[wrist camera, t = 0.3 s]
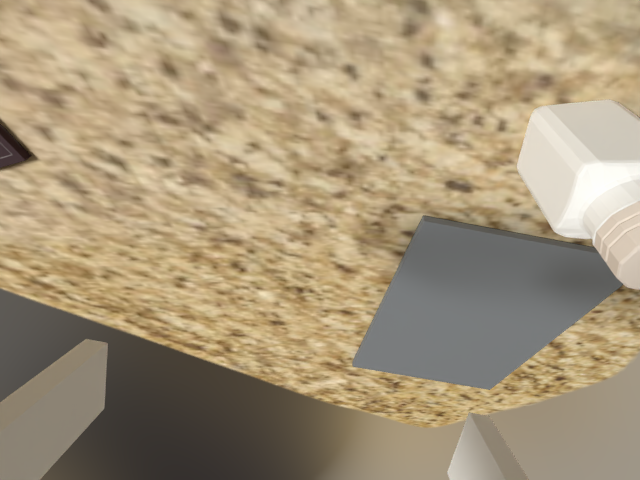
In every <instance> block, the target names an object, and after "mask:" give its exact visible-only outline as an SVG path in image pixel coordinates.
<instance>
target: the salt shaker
mask: <svg viewBox="0 0 640 480" xmlns="http://www.w3.org/2000/svg"><path fill="white" fill-rule="evenodd" d="M517 169H518V173H519V174H520V176H521V178H522V179H523V181H524V183H525V184H526V186H527V188H528V189H529V191H530V193H531V194H532V196H533V198H534V199H535V201H536V203H537V204H538V206H539V208H540V209H541V211H542V213H543V214H544V216H545V218H546V219H547V221H548V223H549V224H550V226H551V228H552V229H553V231H554V232H555V233H557V234H559V235H562V236H564V237H569V238H580V239H592V242H593V245H594V247H595V248H596V250H597V251H598V252H599V254H600V255H601V257H602V258H603V260H604V261H605V262H606V263H607V265H608V267H609V268H610V270H611V271H612V272H613V274H614V275H615V277H616V278H617V279H618V280H619V281H620V282H622V283H623V284H624V285H625V286H626V287H627V288H631V289H638V290H640V118H639V117H638V116H636V115H635V114H634V113H632V112H631V111H630V110H628V109H627V108H625V107H624V106H623V105H621V104H620V103H619V102H616V101H613V100H610V99H609V100H596V101H586V102H576V103H566V104H556V105H546V106H541V107H538V108H535V109H534V111H533V112H532V114H531V116H530V119H529V123H528V127H527V130H526V134H525V137H524V141H523V144H522V148H521V152H520V155H519V159H518V163H517Z"/></svg>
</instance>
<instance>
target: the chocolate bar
mask: <svg viewBox="0 0 640 480" xmlns="http://www.w3.org/2000/svg"><path fill="white" fill-rule="evenodd" d="M30 157H31V155H30V154H29V153H28V152H27V151H26V150H25V149H24V148H23V147H22V146H21V145H20V144H19V143H18V142H17V141H16V140H15V138H14V137H13V136H12V135H11V134H10V133H9V132H8V131H7V130H6V129H5V128H4V127H3V126H2V125H1V124H0V168H1V167H4V166H8V165H11V164H14V163H18V162H21V161H25V160H27V159H28V158H30Z"/></svg>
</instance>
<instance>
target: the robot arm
mask: <svg viewBox="0 0 640 480" xmlns="http://www.w3.org/2000/svg"><path fill="white" fill-rule="evenodd" d="M107 346H108V343H104V342H99V341H93V340H88V339H85V340H84V341H83V342H81V343H80V344H79V345H77V346H76V347H75V348H73V349H72V350H71V351H69V352H68V353H67V354H65V355H64V356H62V357H61V358H60V359H58V360H57V361H56V362H54V363H53V364H52V365H50V366H49V367H48V368H46V369H45V370H43V371H42V372H41V373H39V374H38V375H37V376H35V377H34V378H33V379H31V380H30V381H29V382H27V383H26V384H25V385H23V386H22V387H20V388H19V389H18V390H16V391H15V392H14V393H12V394H11V395H10V396H8V397H7V398H6V399H4V400H3V401H1V402H0V480H40V479H41V478H42V476H43V475H44V474H45V473H46V472H47V471H48V470H49V469H50V468H51V467H52V465H53V464H54V463H55V462H56V461H57V460H58V459H59V458H60V457H61V456H62V454H63V453H64V452H65V451H66V450H67V449H68V448H69V447H70V446H71V444H72V443H73V442H74V441H75V440H76V439H77V438H78V437H79V436H80V434H81V433H82V432H83V431H84V430H85V429H86V428H87V427H88V426H89V424H90V423H91V422H92V421H93V420H94V419H95V418H96V417H97V416H98V415H99V414H100V412H101V411H102V410H103V409H104V404H105V385H106V365H107ZM447 473H448V476H449V479H450V480H529V479H528V477H527V476H526V474H525V473H524V471H523V469H522V468H521V466H520V465H519V463H518V462H517V460H516V458H515V456H514V455H513V453H512V452H511V450H510V448H509V447H508V445H507V444H506V442H505V440H504V439H503V437H502V436H501V434H500V432H499V431H498V429H497V427H496V426H495V424H494V423H493V421H492V419H491V418H490V417H489V416H485V415H480V414H475V413H470V412H469V414H468V416H467V419H466V422H465V425H464V428H463V431H462V433H461V436H460V439H459V442H458V444H457V447H456V450H455V453H454V455H453V458H452V461H451V464H450V467H449V470H448V472H447Z"/></svg>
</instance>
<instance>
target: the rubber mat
mask: <svg viewBox="0 0 640 480" xmlns="http://www.w3.org/2000/svg"><path fill="white" fill-rule="evenodd" d="M622 285H623V283H622V282H620V281H619V280H618V279H617V278H616V277H615V275H614V274H613V272H612V271H611V270H610V268H609V267H608V265H607V263H606V262H605V261H604V260H603V258H602V257H601V255H600V254H599V252H598V251H597V250H596V248H595V247H589V246H584V245H579V244H573V243H568V242H563V241H557V240H552V239H546V238H541V237H536V236H530V235H525V234H520V233H514V232H509V231H504V230H498V229H493V228H487V227H482V226H477V225H471V224H466V223H461V222H455V221H450V220H445V219H439V218H434V217H429V216H423V217H422V219H421V221H420V223H419V225H418V228H417V230H416V232H415V234H414V236H413V238H412V240H411V242H410V244H409V246H408V248H407V250H406V252H405V254H404V256H403V259H402V261H401V263H400V265H399V267H398V269H397V271H396V273H395V275H394V277H393V279H392V281H391V283H390V285H389V287H388V289H387V292H386V294H385V296H384V298H383V300H382V302H381V304H380V306H379V308H378V310H377V312H376V314H375V316H374V318H373V320H372V323H371V325H370V327H369V329H368V331H367V333H366V335H365V337H364V339H363V341H362V343H361V345H360V347H359V349H358V351H357V353H356V356H355V358H354V360H353V367H358V368H364V369H370V370H376V371H382V372H388V373H394V374H400V375H406V376H412V377H418V378H423V379H429V380H435V381H441V382H447V383H453V384H459V385H465V386H471V387H477V388H482V389H488V390H490V389H491V388H493V387H494V386H495V385H496V384H498V383H499V382H500V381H501V380H503V379H504V378H505V377H507V376H508V375H509V374H510V373H512V372H513V371H514V370H515V369H517V368H518V367H519V366H521V365H522V364H523V363H524V362H526V361H527V360H528V359H529V358H531V357H532V356H533V355H534V354H536V353H537V352H538V351H540V350H541V349H542V348H543V347H545V346H546V345H547V344H548V343H550V342H551V341H552V340H554V339H555V338H556V337H557V336H559V335H560V334H561V333H562V332H564V331H565V330H566V329H568V328H569V327H570V326H571V325H573V324H574V323H575V322H576V321H578V320H579V319H580V318H581V317H583V316H584V315H585V314H587V313H588V312H589V311H590V310H592V309H593V308H594V307H595V306H597V305H598V304H599V303H601V302H602V301H603V300H604V299H606V298H607V297H608V296H609V295H611V294H612V293H613V292H615V291H616V290H617V289H618V288H620V287H621V286H622Z"/></svg>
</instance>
